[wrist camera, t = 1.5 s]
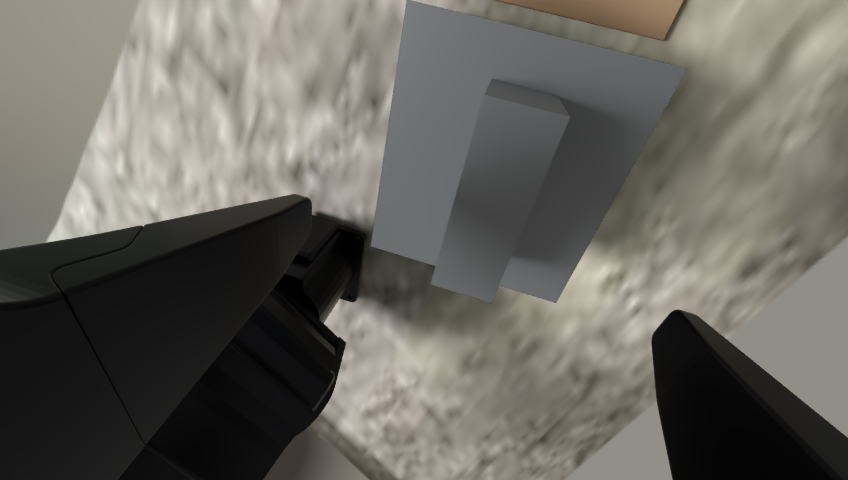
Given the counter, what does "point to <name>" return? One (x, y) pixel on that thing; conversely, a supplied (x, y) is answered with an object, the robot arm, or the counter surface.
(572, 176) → the lid
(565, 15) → the walnut board
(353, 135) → the counter surface
